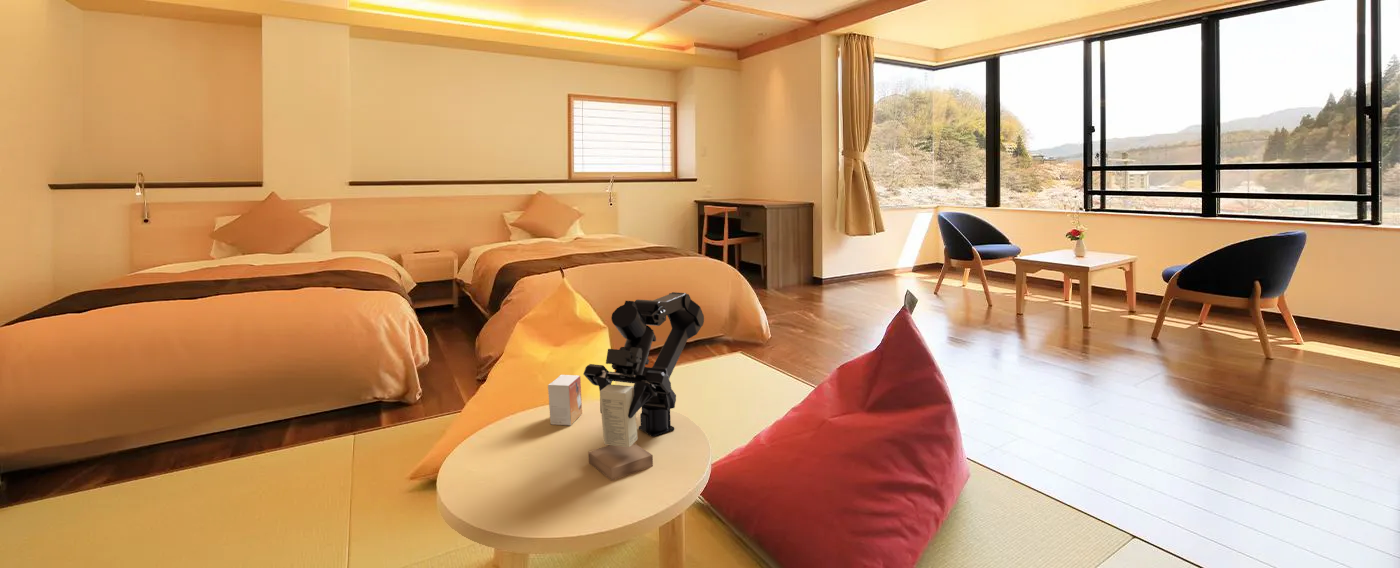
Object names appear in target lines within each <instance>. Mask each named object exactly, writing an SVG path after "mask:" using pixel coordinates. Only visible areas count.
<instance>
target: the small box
mask: <svg viewBox="0 0 1400 568" xmlns="http://www.w3.org/2000/svg"><path fill="white" fill-rule="evenodd" d="M581 383H582V382H581V376H580V375H576V374H575V375H574V374H560V375H559V376H557V378H555V379H554V380H553V381H551V382H550V383H549V384H547V391H548V392H547V394H548V406H549V420H550V421H549V422H550V425H554V426H555V425H557V426H572V425H573V423H575V421H577V420H578V419H579V417H581V416H582V415H583V404H582V403H583V402H582V400H583V399H582V384H581Z"/></svg>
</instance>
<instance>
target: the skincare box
mask: <svg viewBox="0 0 1400 568" xmlns="http://www.w3.org/2000/svg"><path fill="white" fill-rule="evenodd" d="M633 386H634V385H633ZM633 386H632V385H624V384H623V385H620V384H612V383H611V384H609V385H607V386H606V387H604V388H603V389H602V390H599V402H600V401H601V412H600V414H601V424H602V437H603V445H605V446H609V445H613V446H621V447H630V446H631V445H632V444H633V443H636V441H638V427H637V413H636V414H635V415H634V416H633V417H632V418H629V417H628V414H629V410H630V406H631V404H632V401H633V398H634V387H633Z"/></svg>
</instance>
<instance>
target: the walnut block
mask: <svg viewBox="0 0 1400 568" xmlns="http://www.w3.org/2000/svg"><path fill="white" fill-rule="evenodd" d="M587 453H588V463H589V464H590V465H591V466H592V467H593V468H595V469H596V470H598V471H599V472H600V473H601V474H602V475H604V476H605V477H606V478H608V479H609V480H610V481H611V482H612V481H615V480H618V479H621V478H623V477H626V476H629V475H632V474H634V473H638V472H641V471H643V470H645V469H650V468H652V467H653V466H654V461H653V457H654V456H653V454H652V453H650V452H649V451H647V450H646V449H644V448H642V447H641V446H640V445H638V444H637V443H636V442H634V443H633V444H632V445H631V446H630V447H621V446H613V445H605V446H602V447H601V448H600V447H599V448H596V449H593V450H590V451H588V452H587Z"/></svg>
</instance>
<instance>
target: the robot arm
mask: <svg viewBox="0 0 1400 568" xmlns="http://www.w3.org/2000/svg"><path fill="white" fill-rule="evenodd" d="M610 318H611V319H610V320H611V322H612V324H613V325H614V327H615V328H616V329H617V331H618V332H619V333H620V335H621V336H622V337H623V338H624V339H626V340H625V343H624V346H620V348H618V349H617V348H616V349H615V348H608V349H607V351H606V352H607V355H606V360H605V364H606V365H611V368H612V369H613V370H615V371H609V370H608V369H607V368H606V367H605V366H604V364H592V363H589V364H588V365H586V366H585V369H584V371H583V376H584V377H585V378H586V379H587V380H588V381H589V382H590V383H591V384H592V385H594V386H598V391H600V390H602V389H603V388H604V387H606V386H607V385H609V384H611V385H612V383H613V382H618V383H627V384H633V387H634V398H633V401H632V404H631V406H630V410H629V414H628V417H629V418H632V417H633V416H634V415H635V414H636V415H637V413H638V411H639V410H641V412H640V413H639V414H640V415H639V416H640V425H639V426H638V429H639V430H640V429H641V430H640V431H642V430H643V431H642V432H644V433H646V434H647V433H648V434H647V435H649V436H650V437H657V436H659V434H660V435H662V434H661V433H663V434H665V432H666V433H669V432H672V431H674V430H675V427H674V426H672V425H671V424H672V423H671V410H673V409H675V407H676V402H677V394H676V393H675V392H674V390H673V388H672V382H671V381H670V378H671V376H672V374H673V372H674V369H675V368H676V365H677V362H678V361H679V359H680V356H681V354H682V352H683V350H684V348H685V346H686V343H687V342H688V340H690V339H691V338H693V337H694V336H697V335H698V333H699V331H700V330H701V328H702V327H703V325H704V323H705V315H704V313H703V311H702V309H701V306H700V305H699V304H698V303H696V302H695V301H694V300H693V299H692V298H691V296H690V295H689V293H687V292H677V291H675V292H674V291H673V292H669V293H668V294H666V295H664V296H661V297H659V298H658V297H657V298H655V299H635V301H634V300H625V301H624V304H622V305H619V306H618V307H617V308H616V309H615V310H614V311H613V312H612V313H611V317H610ZM667 318H668V319H669V324H670V327H671V330H670V332H669V334H668V335H667V337H666V340H665V342H664V344H663V345H662V347H661V349H660V352H659V353H658V355H657V357H656V359H655V361H654V363H653V366H652V367H650V366H649V367H648V366H647V365H649V363H650V360H649V358H648V357H649V353H650V351H651V347H652V344H653V342H654V343H655V342H656V341H657V336H656V334H655V331H654V329H652V328H651V327H650V326H653V327H654V326H657V327H659V326H661V325H663V323H664V322H666V321H667ZM646 366H647V367H646ZM599 403H600V404H599V405H600V407H599V409H600V413H601V401H600V400H599ZM671 430H672V431H671ZM668 431H669V432H668ZM656 435H657V436H656Z"/></svg>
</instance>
